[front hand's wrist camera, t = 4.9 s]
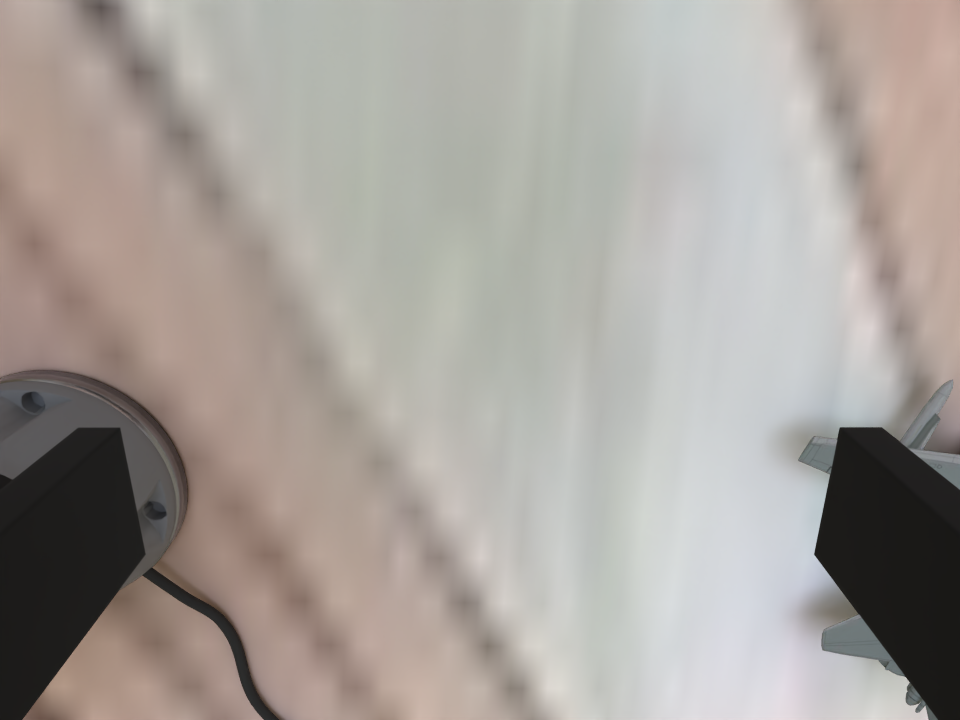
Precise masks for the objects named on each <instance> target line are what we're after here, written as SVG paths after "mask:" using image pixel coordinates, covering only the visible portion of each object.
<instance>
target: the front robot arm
mask: <svg viewBox="0 0 960 720" xmlns="http://www.w3.org/2000/svg"><path fill="white" fill-rule="evenodd" d="M145 555H146V553H145V548H144V543H143V538H142V533H141V528H140V523H139V518H138V513H137V508H136V503H135V498H134V493H133V488H132V483H131V478H130V473H129V469H128V464H127V459H126V454H125V449H124V444H123V439H122V434H121V429H120V427H78V428H77V429H76V430H74V431H73V432H72V433H71V434H69V435H68V436H67V437H66V438H64V439H63V440H62V441H61V442H59V443H58V444H57V445H56V446H54V447H53V448H52V449H51V450H49V451H48V452H47V453H46V454H44V455H43V456H42V457H41V458H39V459H38V460H37V461H36V462H34V463H33V464H32V465H31V466H29V467H28V468H27V469H25V470H24V471H23V472H22V473H20V474H19V475H18V476H17V477H15V478H14V479H13V480H12V481H10V482H9V483H8V484H7V485H5V486H4V487H3V488H2V489H0V720H22V719H23V718H24V717H25V715H26V714H27V713H28V711H29V710H30V709H31V707H32V706H33V705H34V703H35V702H36V701H37V699H38V698H39V697H40V695H41V694H42V693H43V691H44V690H45V689H46V687H47V686H48V684H49V683H50V682H51V680H52V679H53V678H54V676H55V675H56V674H57V672H58V671H59V670H60V668H61V667H62V666H63V664H64V663H65V662H66V660H67V659H68V658H69V656H70V655H71V654H72V652H73V651H74V650H75V648H76V647H77V646H78V644H79V643H80V642H81V640H82V639H83V638H84V636H85V635H86V634H87V632H88V631H89V630H90V628H91V627H92V626H93V624H94V623H95V622H96V620H97V619H98V618H99V616H100V615H101V614H102V612H103V611H104V610H105V608H106V607H107V606H108V604H109V603H110V602H111V600H112V599H113V598H114V596H115V595H116V594H117V592H118V591H119V590H120V588H121V587H122V586H123V584H124V583H125V582H126V580H127V579H128V578H129V576H130V575H131V574H132V572H133V571H134V570H135V568H136V567H137V566H138V564H139V563H140V562H141V560H142V559H143V558H144V556H145ZM814 555H815V556H816V558H817V559H818V560H819V562H820V563H821V564H822V566H823V567H824V568H825V570H826V571H827V572H828V574H829V575H830V576H831V578H832V579H833V580H834V582H835V583H836V584H837V586H838V587H839V588H840V590H841V591H842V592H843V594H844V595H845V596H846V598H847V599H848V600H849V602H850V603H851V604H852V606H853V607H854V608H855V610H856V611H857V612H858V614H859V615H860V616H861V618H862V619H863V620H864V622H865V623H866V624H867V626H868V627H869V628H870V630H871V631H872V632H873V634H874V635H875V636H876V638H877V639H878V640H879V642H880V643H881V644H882V646H883V647H884V648H885V650H886V651H887V652H888V654H889V655H890V656H891V658H892V659H893V660H894V662H895V663H896V664H897V666H898V667H899V668H900V670H901V671H902V672H903V674H904V675H905V676H906V678H907V679H908V680H909V682H910V683H911V684H912V686H913V687H914V689H915V690H916V691H917V693H918V694H919V695H920V697H921V698H922V699H923V701H924V702H925V703H926V705H927V706H928V707H929V709H930V710H931V711H932V713H933V714H934V715H935V717H936V718H937V719H938V720H960V489H958V488H957V487H956V486H955V485H953V484H952V483H951V482H950V481H948V480H947V479H946V478H945V477H943V476H942V475H941V474H940V473H938V472H937V471H936V470H935V469H933V468H932V467H931V466H929V465H928V464H927V463H926V462H924V461H923V460H922V459H921V458H919V457H918V456H917V455H916V454H914V453H913V452H912V451H911V450H909V449H908V448H907V447H906V446H904V445H903V444H902V443H901V442H899V441H898V440H897V439H896V438H894V437H893V436H892V435H891V434H889V433H888V432H887V431H886V430H884V429H883V428H882V427H840V429H839V434H838V439H837V444H836V449H835V454H834V459H833V464H832V469H831V473H830V478H829V483H828V488H827V493H826V498H825V503H824V508H823V513H822V518H821V523H820V528H819V533H818V538H817V543H816V548H815V553H814Z"/></svg>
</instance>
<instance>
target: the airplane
mask: <svg viewBox="0 0 960 720" xmlns="http://www.w3.org/2000/svg"><path fill="white" fill-rule="evenodd" d="M952 388H953V380H950V381H948V382H946V383H944V384H943V385H942V386H941V387H940V388H939V389H938V390H937V391H936V392H935V394H934V395H933V396H932V397H931V399H930V400H929V401H928V402H927V404H926V405H925V406H924V408H923V409H922V411H921V412H920V413H919V415H918V416H917V418H916V419H915V421H914V422H913V424H912V425H911V426H910V428H909V429H908V431H907V432H906V434H905V435H904V436H903V438H902V439H901V441H900V442H901V443H902V444H903V445H904V446H906V447H907V448H908V449H909V450H911V451H912V452H913V453H914V454H916V455H917V456H918V457H919V458H921V459H922V460H923V461H924V462H926V463H927V464H928V465H929V466H931V467H932V468H933V469H935V470H936V471H937V472H938V473H940V474H941V475H942V476H943V477H945V478H946V479H947V480H948V481H950V482H951V483H952V484H953V485H955V486H956V487H957V488H958V489H960V455H959V454H950V453H942V452H935V451H927V450H923V449H924V447H925V445H926V443H927V442H928V440H929V438H930V437H931V435H932V433H933V432H934V430H935V428H936V427H937V425H938V423H939V421H940V418H939V417H938V416H937V415H938V413H939V412H940V410H941V408H942V407H943V405H944V404H945V402H946V400H947V399H948V397H949V395H950V393H951V391H952ZM836 444H837V439H832V438H824V437H815V436H814V437H813V438H812V439H811V440H810V442H809V443H808V445H807V446H806V448H805V449H804V451H803V453H802V454H801V456H800V458H799V460H798V461H800V462H803V463H805V464H807V465H810V466H812V467H814V468H817V469H819V470H821V471H824V472H826V473H828V474H830V473H831V469H832V464H833V459H834V454H835V449H836ZM821 646H822V650H824V651H828V652H833V653H838V654H843V655H850V656H857V657H863V658H870V659H876V660H879V662H880V663H881V664H882V665H883V666H884V667H885V669H886V670H889V671H891V672H893V673H895V674H897V675H900V676H905V675H904V674H903V672H902V671H901V670H900V668H899V667H898V666H897V664H896V663H895V662H894V660H893V659H892V658H891V656H890V655H889V654H888V652H887V651H886V650H885V648H884V647H883V646H882V644H881V643H880V642H879V640H878V639H877V638H876V636H875V635H874V634H873V632H872V631H871V630H870V628H869V627H868V626H867V624H866V623H865V622H864V620H863V619H862V618H861V616H860V615H856V616H854V617H852V618H849V619H847V620H845V621H842V622H840V623H838V624H835V625H833V626H831V627H828V628H826V629H824V631H823V633H822V645H821ZM905 677H906V676H905ZM907 691H908V692H907V693H906V703H907V704H908V705H916V704H919V703H920V702H921V703H920V704H919V705H918V707H917V708H916V711H915V712H916V713H918V712H920V711H921V710H922V709H923V707H924V706H925V705H926V703H925V702H924V701H923V699H922V698H921V697H920V695H919V694H918V693H917V691H916V690H915V689H914V687H913V686H912V684H911V683H909V685H908V686H907ZM926 710H927V714H928V719H929V720H938V719H937V718H936V717H935V715H934V714H933V713H932V711H931V710H930V709H929V707H928V706H927V705H926Z"/></svg>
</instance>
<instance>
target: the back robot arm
mask: <svg viewBox="0 0 960 720" xmlns="http://www.w3.org/2000/svg"><path fill="white" fill-rule="evenodd" d="M78 427H120V429H121V434H122V439H123V444H124V449H125V454H126V459H127V464H128V469H129V473H130V478H131V483H132V488H133V493H134V498H135V503H136V508H137V513H138V518H139V523H140V528H141V533H142V538H143V543H144V548H145V553H146V555H145V556H144V558H143V559H142V560H141V562H140V563H139V564H138V566H137V567H136V568H135V570H134V571H133V572H132V574H131V575H130V576H129V578H128V579H127V580H126V582H125V583H124V584H123V586H122V587H121V588H120V589H122V588H124V587H125V586H127V585H128V584H130V583H132V582H133V581H135V580H136V579H138V578H139V577H141V576H142V575H143V576H144V577H146V578H147V579H148V580H150V581H151V582H153V583H154V584H156V585H157V586H159V587H160V588H162V589H163V590H164V591H166V592H167V593H169V594H170V595H172V596H173V597H175V598H176V599H178V600H179V601H181V602H182V603H184V604H186V605H187V606H189V607H191V608H193V609H195V610H197V611H198V612H200V613H202V614H204V615H206V616H207V617H209V618H210V619H211V620H213V621H214V622H215V623H216V624H217V625H218V627H219V628H220V629H221V630H222V632H223V633H224V635H225V636H226V638H227V640H228V642H229V644H230V646H231V649H232V651H233V654H234V658H235V661H236V665H237V669H238V673H239V677H240V680H241V684H242V686H243V689H244V692H245V694H246V696H247V698H248V700H249V701H250V703H251V705H252V706H253V707H254V709H255V710H256V711H257V713H258V714H259V715H260V716H261V717H262V718H263V719H264V720H279V719H278V718H277V717H276V716H275V715H274V714H273V713H272V712H271V711H270V710H269V709H268V708H267V707H266V706H265V704H264V703H263V701H262V700H261V699H260V697H259V695H258V694H257V692H256V690H255V687H254V685H253V682H252V680H251V676H250V673H249V669H248V665H247V661H246V657H245V653H244V650H243V647H242V644H241V641H240V639H239V637H238V635H237V633H236V631H235V630H234V628H233V626H232V625H231V624H230V623H229V621H228V620H227V619H226V618H225V617H224V615H222V614H221V613H220V612H219V611H218V610H216V609H215V608H214V607H212V606H211V605H209V604H207V603H205V602H204V601H202V600H200V599H198V598H196V597H194V596H193V595H191V594H189V593H188V592H186V591H185V590H183V589H182V588H180V587H179V586H177V585H176V584H175V583H173V582H172V581H170V580H169V579H167V578H166V577H164V576H163V575H162V574H160V573H159V572H157V571H156V570H154V569H153V568H152V567H153V566H154V565H155V564H156V563H157V562H158V561H159V559H160V558H161V557H162V556H163V554H164V553H165V551H166V550H167V549H168V547H169V546H170V544H171V543H172V542H173V540H174V539H175V537H176V536H177V534H178V532H179V530H180V528H181V526H182V523H183V521H184V517H185V513H186V508H187V482H186V477H185V472H184V469H183V466H182V463H181V460H180V458H179V455H178V453H177V451H176V449H175V447H174V445H173V444H172V442H171V440H170V439H169V437H168V436H167V434H166V433H165V431H164V430H163V429H162V428H161V427H160V425H159V424H158V423H157V422H156V421H155V420H154V419H153V418H152V417H151V416H150V415H149V414H148V413H147V412H146V411H145V410H144V409H143V408H142V407H140V406H139V405H138V404H137V403H135V402H134V401H133V400H131V399H130V398H128V397H127V396H125V395H124V394H122V393H120V392H119V391H117V390H115V389H113V388H111V387H109V386H107V385H105V384H103V383H100V382H98V381H96V380H93V379H90V378H87V377H84V376H80V375H76V374H72V373H66V372H59V371H46V370H40V371H26V372H19V373H15V374H11V375H7V376H4V377H2V378H0V489H2V488H3V487H4V486H5V485H7V484H8V483H9V482H10V481H12V480H13V479H14V478H15V477H17V476H18V475H19V474H20V473H22V472H23V471H24V470H25V469H27V468H28V467H29V466H31V465H32V464H33V463H34V462H36V461H37V460H38V459H39V458H41V457H42V456H43V455H44V454H46V453H47V452H48V451H49V450H51V449H52V448H53V447H54V446H56V445H57V444H58V443H59V442H61V441H62V440H63V439H64V438H66V437H67V436H68V435H69V434H71V433H72V432H73V431H74V430H76V429H77V428H78Z"/></svg>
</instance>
